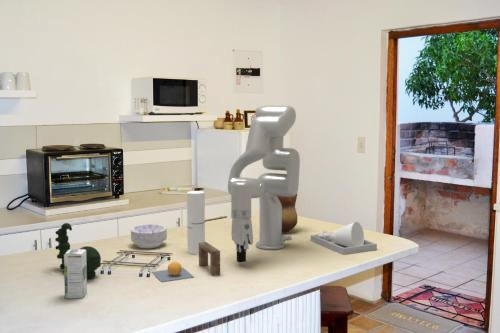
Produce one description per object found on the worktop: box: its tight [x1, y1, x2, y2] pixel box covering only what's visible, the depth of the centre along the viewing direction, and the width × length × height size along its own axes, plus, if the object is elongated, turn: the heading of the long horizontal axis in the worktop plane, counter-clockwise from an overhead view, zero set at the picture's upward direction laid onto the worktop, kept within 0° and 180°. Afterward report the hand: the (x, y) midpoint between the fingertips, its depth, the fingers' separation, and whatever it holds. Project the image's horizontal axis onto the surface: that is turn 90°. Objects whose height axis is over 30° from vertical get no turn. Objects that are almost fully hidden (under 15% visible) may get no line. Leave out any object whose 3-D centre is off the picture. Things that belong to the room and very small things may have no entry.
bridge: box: [198, 241, 221, 277], centre depth 197 cm, size 3×14×9 cm, turn 26°
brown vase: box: [277, 193, 298, 233], centre depth 256 cm, size 14×13×25 cm
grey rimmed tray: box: [309, 232, 378, 256], centre depth 233 cm, size 17×25×2 cm
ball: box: [167, 261, 183, 276], centre depth 191 cm, size 5×5×5 cm
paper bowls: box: [130, 223, 168, 250], centre depth 231 cm, size 15×15×8 cm
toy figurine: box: [54, 222, 102, 280], centre depth 191 cm, size 9×19×25 cm
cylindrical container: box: [186, 190, 206, 255], centre depth 221 cm, size 7×7×25 cm
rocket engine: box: [318, 221, 365, 248], centre depth 232 cm, size 12×12×18 cm
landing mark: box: [151, 267, 195, 283], centre depth 192 cm, size 12×12×1 cm
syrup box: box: [63, 248, 88, 300], centre depth 170 cm, size 6×6×14 cm
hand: (241, 261), depth 203 cm, fingers closed
